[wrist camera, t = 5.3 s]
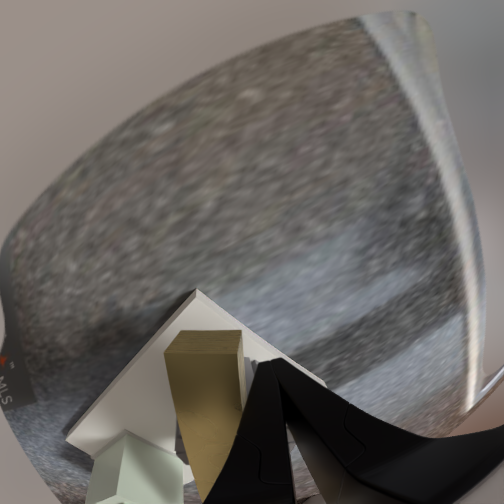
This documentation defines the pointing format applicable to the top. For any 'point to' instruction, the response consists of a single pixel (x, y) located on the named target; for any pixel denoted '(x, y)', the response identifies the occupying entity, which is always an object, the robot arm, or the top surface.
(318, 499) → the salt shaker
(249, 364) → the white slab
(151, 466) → the pale green block
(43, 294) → the top surface
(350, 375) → the top surface
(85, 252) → the top surface
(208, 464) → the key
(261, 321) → the top surface
